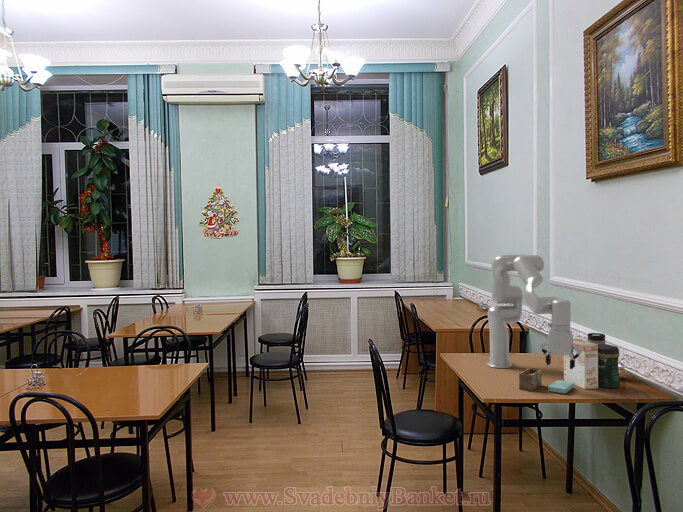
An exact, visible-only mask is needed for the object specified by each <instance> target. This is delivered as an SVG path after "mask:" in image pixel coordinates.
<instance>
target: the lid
mask: <svg viewBox="0 0 683 512" xmlns="http://www.w3.org/2000/svg"><path fill="white" fill-rule="evenodd" d="M573 388H575V385H574V382H568V381H564V380H562V379H557V380H555V381H554V382H553V383H551V384H550V385H549V386H547V389H548V390H547V392H548V391H549V392H553V393H558V394H568V392H569V391H570V390H572V389H573Z"/></svg>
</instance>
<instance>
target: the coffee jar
mask: <svg viewBox="0 0 683 512" xmlns="http://www.w3.org/2000/svg"><path fill="white" fill-rule="evenodd" d="M619 357H620V349H619V346H616V345H612V344H606V343H605V344H598V387H602V388H606V389H618V388H619V387H620V386H621V383H620V382H621V381H620V372H619Z"/></svg>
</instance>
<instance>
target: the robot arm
mask: <svg viewBox="0 0 683 512" xmlns="http://www.w3.org/2000/svg"><path fill="white" fill-rule="evenodd" d="M544 268H545V261H544V259H543V258H542V257H541V256H539V255H537V254H502V255H497V256H496V257H494V258H493V260H492V263H491V272H492V286H491V287H492V288H491V291H492V292H491V298H492V302H493V303H495V304H500V305H493V306H491V307H489V308H488V310H487V320H488V324H489V325H488V326H489V328H488V329H489V361H488V362H486V366H488V367H491V368H495V369H509V368H512V367H513V363H512V362H510V359H511V356H510V345H509V343H510V341H509V340H510V339H509V338H510V337H509V336H510V335H509V331H508V328H507V327H506V324H515V323H518V322H519V321H521V318H522V312H523V298H524V301H525V303H526V305H527V307H528V308H529V309H530V311H532V313H534V314H535V315H544V314H546V315H547V314H549V315H550V314H551V322H550V323H548V325H547V326H548V328H550V329H549V330H548V333H547V334H548V335H547V342H543V343H542V344H539V347H540V349H541V352H542V353H543V354H544V357H545V363H546V366H550V365H551V363H552V361H551V360H552V359H551V358H552V356H551V354H554V355H561V356H564V355H568V356H569V357H570V358H571V360H570V369H573V368H574V367H575V359H576V358H577V357H579V356H580V354H581V352H582V350H580V349H579V348H577V347H576V346H574V345H573V339H574V337H573V332H572V331H571V312H572V311H571V306H572V305H571V301H570V300H569V299H564V298H560V297H559V296H540V297H539V296H538V295H537V294H536V293H535V291H534V289H537V288H538V287H539V286H540V285H541V284H542V283H543V281H544V278H543V276H542V275H541V273H540V272H542V271H543V270H544ZM509 272H517V275H518V276H519V277H520V279H521V281H522V282H523V283H524V285H525V287H524V289H523V291H522V288H521V287H520V286H518V285H516V284H511V283H510V282H511V277H510V274H509ZM502 304H506V305H502ZM574 350H575V351H577V354H576V355H574V354H573V351H574Z"/></svg>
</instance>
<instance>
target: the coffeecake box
mask: <svg viewBox="0 0 683 512" xmlns="http://www.w3.org/2000/svg"><path fill="white" fill-rule="evenodd" d="M573 345H574V346H576V347H577V348H579V349H580V350H582V352H581V354H580V356H579V357H577V358H576V359H575V367H574V368H573V369H570V360H571V358H570V357H569V356H568V355H563V381H568V382H574V386H576V387H579V388H581V389H584V390H591V389H592V390H593V389H599V385H598V344H594V343H590V342H588V340H587V341H586V340H582V339H579V338H573ZM573 354H574V355H576V354H577V351H575V350H574V351H573Z"/></svg>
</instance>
